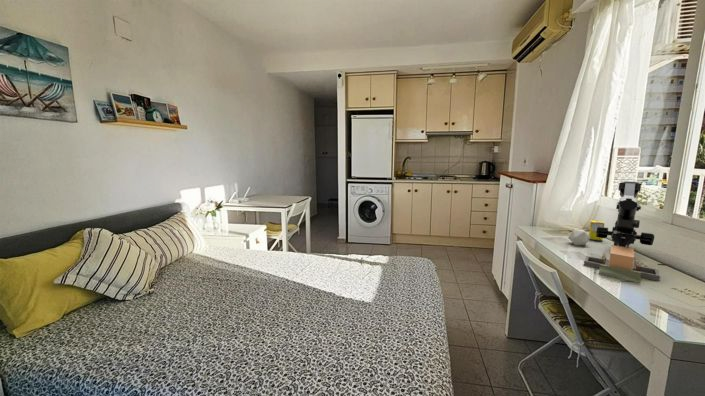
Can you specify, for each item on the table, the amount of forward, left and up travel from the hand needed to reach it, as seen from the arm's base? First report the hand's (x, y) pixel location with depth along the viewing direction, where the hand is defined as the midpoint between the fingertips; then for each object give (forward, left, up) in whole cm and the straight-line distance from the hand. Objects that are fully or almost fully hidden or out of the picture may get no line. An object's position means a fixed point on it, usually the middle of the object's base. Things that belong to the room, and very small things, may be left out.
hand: (621, 251), depth 125 cm
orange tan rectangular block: (+8, 0, -7) cm, 10 cm away
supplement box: (-44, -11, -7) cm, 46 cm away
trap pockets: (+6, 0, -7) cm, 9 cm away
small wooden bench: (+5, 0, -7) cm, 8 cm away
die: (-26, -17, -7) cm, 32 cm away
